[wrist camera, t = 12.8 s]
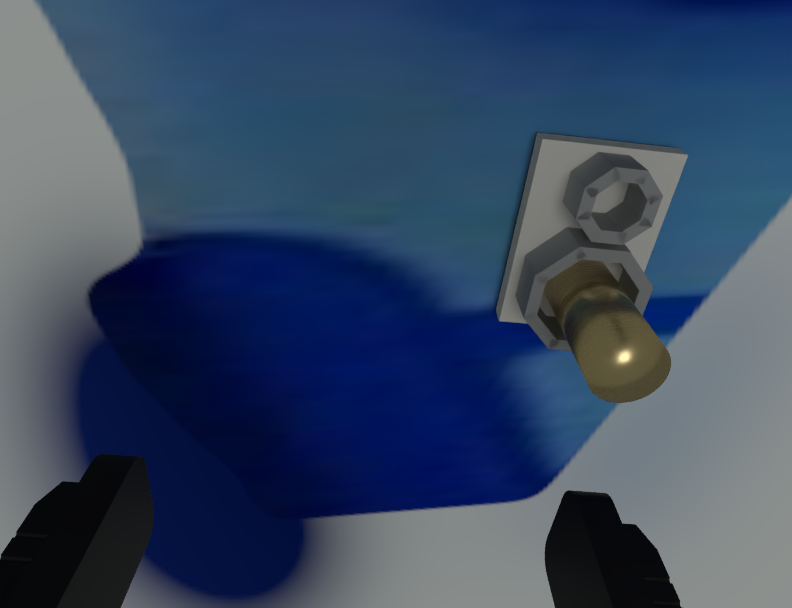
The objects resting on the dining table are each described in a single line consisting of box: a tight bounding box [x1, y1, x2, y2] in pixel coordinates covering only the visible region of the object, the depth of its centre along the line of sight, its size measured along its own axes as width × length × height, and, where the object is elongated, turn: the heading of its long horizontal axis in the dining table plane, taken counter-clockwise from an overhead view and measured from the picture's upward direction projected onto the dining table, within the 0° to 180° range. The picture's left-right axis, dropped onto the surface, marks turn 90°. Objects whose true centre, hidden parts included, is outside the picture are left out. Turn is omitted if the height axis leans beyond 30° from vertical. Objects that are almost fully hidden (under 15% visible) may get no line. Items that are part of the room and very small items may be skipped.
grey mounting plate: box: [496, 132, 688, 351], centre depth 37 cm, size 13×9×4 cm
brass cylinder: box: [544, 259, 671, 403], centre depth 34 cm, size 4×4×10 cm
